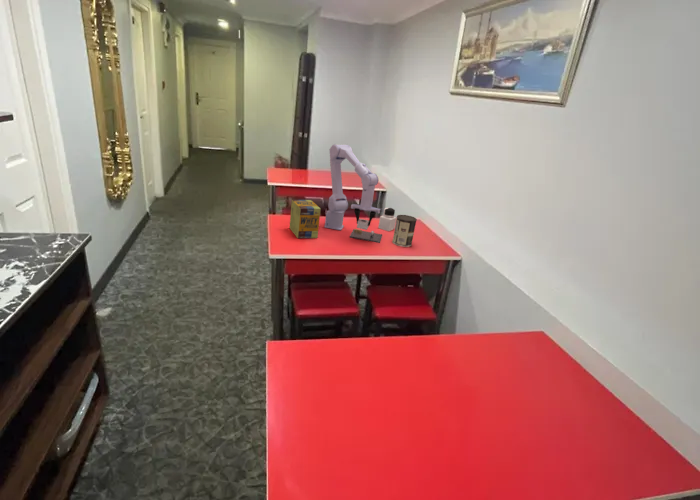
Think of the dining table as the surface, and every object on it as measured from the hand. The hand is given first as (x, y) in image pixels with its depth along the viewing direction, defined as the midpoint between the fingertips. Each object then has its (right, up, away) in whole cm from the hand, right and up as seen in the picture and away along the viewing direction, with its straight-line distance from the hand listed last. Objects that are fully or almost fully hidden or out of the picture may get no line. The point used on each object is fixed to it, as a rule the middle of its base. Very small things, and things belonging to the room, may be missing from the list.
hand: (363, 224), depth 194 cm
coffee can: (+20, -10, +6) cm, 23 cm away
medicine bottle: (+14, -1, +26) cm, 30 cm away
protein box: (-31, -5, +1) cm, 31 cm away
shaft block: (+2, -6, +8) cm, 11 cm away
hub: (0, -2, 0) cm, 2 cm away
